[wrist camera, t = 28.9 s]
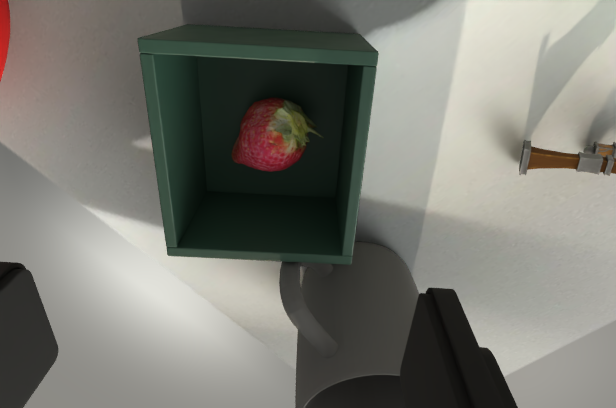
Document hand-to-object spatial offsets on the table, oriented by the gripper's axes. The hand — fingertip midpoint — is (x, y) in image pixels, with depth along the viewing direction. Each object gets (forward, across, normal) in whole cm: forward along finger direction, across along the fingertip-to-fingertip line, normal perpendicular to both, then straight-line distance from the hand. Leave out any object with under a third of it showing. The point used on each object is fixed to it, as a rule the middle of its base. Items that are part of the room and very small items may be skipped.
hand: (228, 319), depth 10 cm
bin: (+18, +1, +1) cm, 18 cm away
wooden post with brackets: (+19, -19, +1) cm, 27 cm away
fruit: (+18, +1, +1) cm, 18 cm away
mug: (+18, -5, +12) cm, 23 cm away
